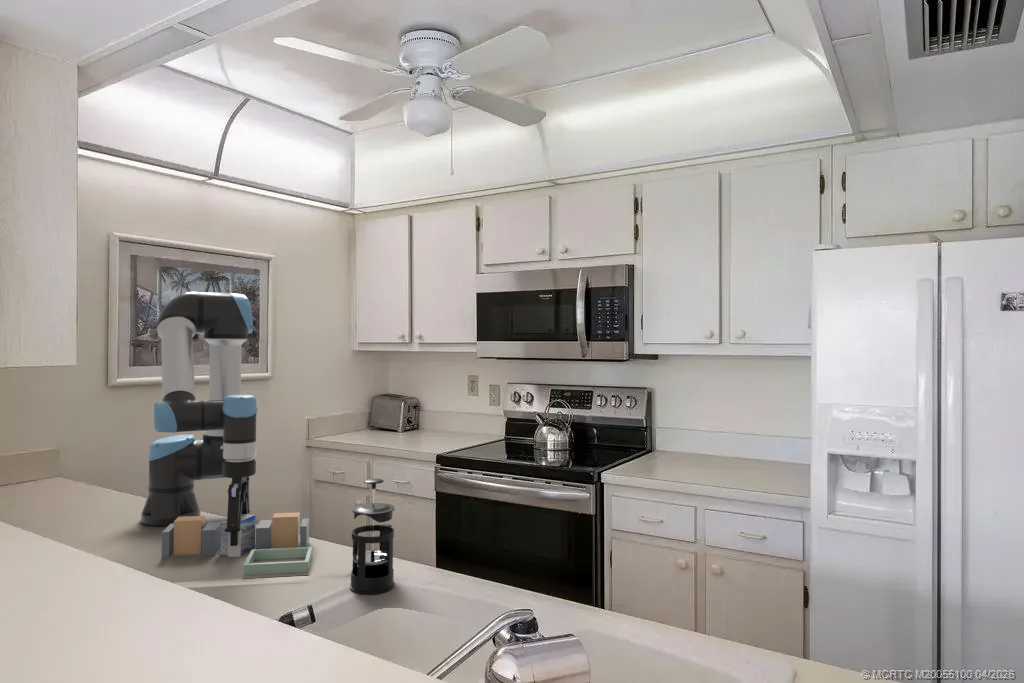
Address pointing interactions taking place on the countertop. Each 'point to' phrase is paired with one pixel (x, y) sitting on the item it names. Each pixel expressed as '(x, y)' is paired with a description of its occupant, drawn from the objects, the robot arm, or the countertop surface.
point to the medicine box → (246, 533)
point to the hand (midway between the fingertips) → (238, 551)
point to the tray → (277, 566)
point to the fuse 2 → (285, 530)
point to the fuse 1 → (188, 535)
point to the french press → (375, 565)
